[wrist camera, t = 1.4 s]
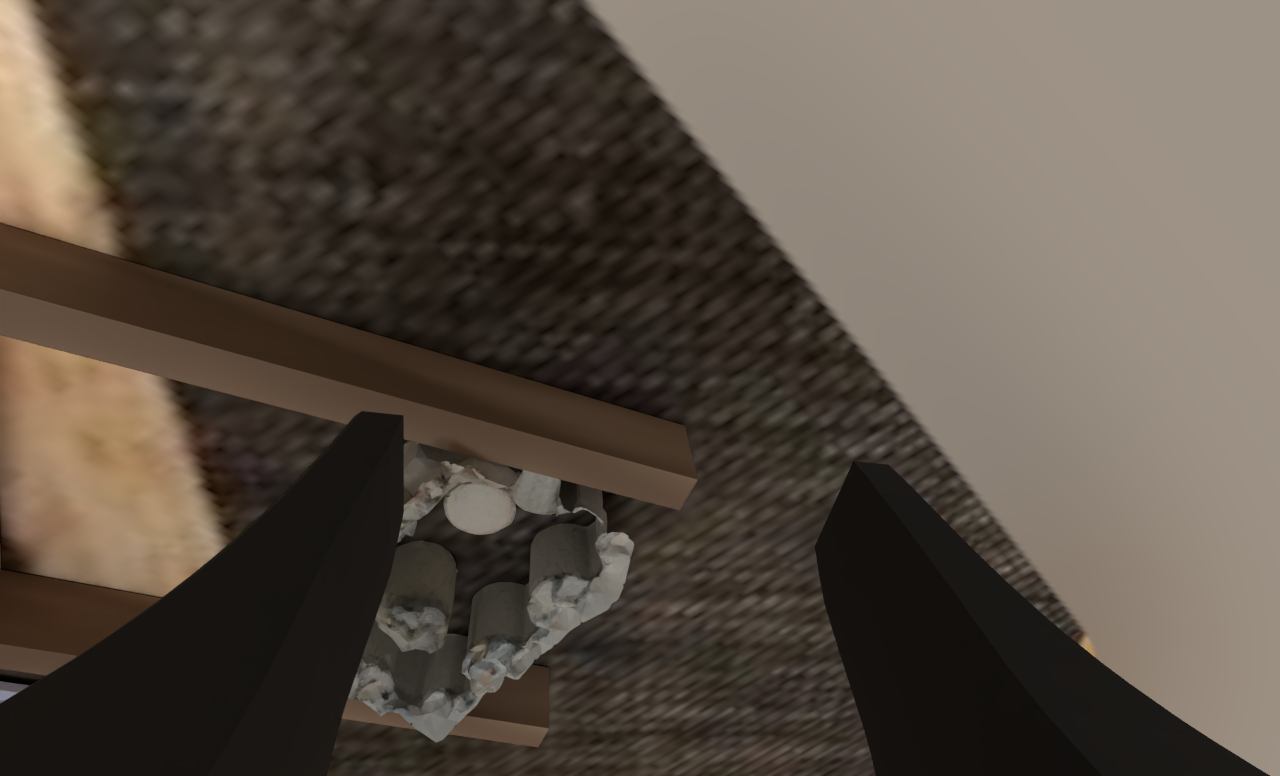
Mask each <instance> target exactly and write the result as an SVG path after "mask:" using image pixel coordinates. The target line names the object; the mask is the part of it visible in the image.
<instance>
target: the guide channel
mask: <svg viewBox="0 0 1280 776" xmlns="http://www.w3.org/2000/svg"><path fill="white" fill-rule="evenodd" d="M0 335H2V336H6V337H10V338H14V339H18V340H22V341H25V342H29V343H33V344H37V345H41V346H45V347H49V348H53V349H56V350H60V351H64V352H68V353H72V354H76V355H80V356H84V357H87V358H91V359H95V360H99V361H103V362H107V363H111V364H115V365H118V366H122V367H126V368H130V369H134V370H138V371H142V372H146V373H149V374H153V375H157V376H161V377H165V378H169V379H173V380H177V381H180V382H184V383H188V384H192V385H196V386H200V387H204V388H208V389H211V390H215V391H219V392H223V393H227V394H231V395H235V396H239V397H242V398H246V399H250V400H254V401H258V402H262V403H266V404H270V405H274V406H277V407H281V408H285V409H289V410H293V411H297V412H301V413H305V414H308V415H312V416H316V417H320V418H324V419H328V420H332V421H336V422H339V423H343V424H348V423H349V422H350V421H351V419H352V418H353V417H354V416H355V415H357V414H358V413H360V412H361V411H366V412H376V413H386V414H396V415H404V439H405V440H409V441H413V442H417V443H421V444H425V445H429V446H432V447H436V448H440V449H444V450H448V451H452V452H456V453H460V454H463V455H467V456H471V457H475V458H479V459H483V460H487V461H491V462H494V463H498V464H502V465H506V466H510V467H514V468H518V469H522V470H525V471H529V472H533V473H537V474H541V475H545V476H549V477H553V478H556V479H560V480H564V481H568V482H572V483H576V484H580V485H584V486H587V487H591V488H595V489H599V490H603V491H607V492H611V493H615V494H618V495H622V496H626V497H630V498H634V499H638V500H642V501H646V502H649V503H653V504H657V505H661V506H665V507H669V508H673V509H677V510H680V509H681V507H682V505H683V504H684V502H685V500H686V499H687V497H688V495H689V494H690V492H691V490H692V489H693V487H694V485H695V484H696V482H697V480H698V478H697V474H696V470H695V466H694V462H693V458H692V454H691V450H690V445H689V441H688V437H687V433H686V429H685V426H684V425H681V424H677V423H674V422H671V421H667V420H664V419H660V418H657V417H654V416H650V415H647V414H643V413H640V412H637V411H633V410H630V409H627V408H623V407H620V406H616V405H613V404H610V403H606V402H603V401H599V400H596V399H593V398H589V397H586V396H583V395H579V394H576V393H572V392H569V391H566V390H562V389H559V388H555V387H552V386H549V385H545V384H542V383H539V382H535V381H532V380H528V379H525V378H522V377H518V376H515V375H511V374H508V373H505V372H501V371H498V370H495V369H491V368H488V367H484V366H481V365H478V364H474V363H471V362H468V361H464V360H461V359H457V358H454V357H451V356H447V355H444V354H440V353H437V352H434V351H430V350H427V349H424V348H420V347H417V346H413V345H410V344H407V343H403V342H400V341H396V340H393V339H390V338H386V337H383V336H380V335H376V334H373V333H369V332H366V331H363V330H359V329H356V328H352V327H349V326H346V325H342V324H339V323H336V322H332V321H329V320H325V319H322V318H319V317H315V316H312V315H308V314H305V313H302V312H298V311H295V310H292V309H288V308H285V307H281V306H278V305H275V304H271V303H268V302H264V301H261V300H258V299H254V298H251V297H248V296H244V295H241V294H237V293H234V292H231V291H227V290H224V289H220V288H217V287H214V286H210V285H207V284H204V283H200V282H197V281H193V280H190V279H187V278H183V277H180V276H177V275H173V274H170V273H166V272H163V271H160V270H156V269H153V268H149V267H146V266H143V265H139V264H136V263H133V262H129V261H126V260H122V259H119V258H116V257H112V256H109V255H105V254H102V253H99V252H95V251H92V250H89V249H85V248H82V247H78V246H75V245H72V244H68V243H65V242H61V241H58V240H55V239H51V238H48V237H45V236H41V235H38V234H34V233H31V232H28V231H24V230H21V229H17V228H14V227H11V226H7V225H4V224H1V223H0ZM160 599H161V598H158V597H152V596H146V595H141V594H135V593H130V592H124V591H119V590H113V589H107V588H102V587H96V586H91V585H85V584H80V583H74V582H68V581H63V580H57V579H52V578H46V577H40V576H35V575H29V574H24V573H18V572H13V571H7V570H1V545H0V669H5V670H12V671H19V672H25V673H32V674H39V675H48V674H49V673H51V672H53V671H54V670H56V669H58V668H59V667H61V666H63V665H64V664H66V663H68V662H69V661H71V660H73V659H74V658H76V657H77V656H79V655H80V654H82V653H83V652H85V651H86V650H88V649H89V648H91V647H92V646H94V645H95V644H97V643H98V642H100V641H101V640H103V639H104V638H106V637H107V636H109V635H110V634H112V633H113V632H115V631H116V630H117V629H119V628H120V627H122V626H123V625H125V624H126V623H127V622H129V621H130V620H132V619H133V618H135V617H136V616H137V615H139V614H140V613H142V612H143V611H144V610H146V609H147V608H149V607H150V606H152V605H153V604H154V603H156V602H157V601H158V600H160ZM342 719H348V720H355V721H362V722H369V723H375V724H382V725H389V726H396V727H403V728H410V729H415V728H414V727H413V726H412V725H410V724H409V723H408V722H407V721H406V720H405V719H404V718H403V717H402V716H401V715H400V714H399V713H394V712H387V713H385V714H383V715H382V716H380V715H379V714H378V713H377V712H376V711H375V710H373V709H372V708H370V707H369V706H368V705H366V704H365V703H364V702H362V701H358V700H354V699H347V702H346V705H345V709H344V712H343V715H342ZM548 730H549V668H548V667H543V666H537V665H531V666H530V667H529V668H528V669H527V670H526V672H525V673H524V674H523V675H522V676H521V677H520V678H519V679H512V678H509V677H505V678H504V680H503V683H502V685H501V687H500V688H499V689H498V690H497V691H496V692H493V693H489V692H486V693H485V694H484V695H483V696H482V698H481V700H480V701H479V703H478V704H477V706H476V707H475V708H474V709H473V710H471V711H470V712H469V713H468V714H467V715H466V716H465V717H464V718H463V719H462V720H461V721H460V722H459V723H458V724H457V725H456V726H455V727H454V728H453V729H452V730H451V731H450V733H449V734H451V735H458V736H465V737H471V738H478V739H485V740H492V741H499V742H506V743H513V744H520V745H526V746H533V747H538V746H539V745H540V743H541V741H542V740H543V738H544V736H545V735H546V733H547V731H548Z"/></svg>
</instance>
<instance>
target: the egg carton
mask: <svg viewBox="0 0 1280 776" xmlns="http://www.w3.org/2000/svg"><path fill="white" fill-rule="evenodd" d="M445 494H446V495H445ZM444 496H445V498H444V503H443V505H444V510H445V514H446V517H447V518H448V519H449V521H450V522H451V523H452V525H454V526H455V527H457V528H458V529H459V530H462V531H465V532H467V533H472V534H476V535H483V534H491V533H495V532H497V531H499V530H501V529H503V528H504V527H506V526H508V525H510V524H511V522H512V521H513V519H514V517H515V514H516V504H517V505H518V506H519V507H520V508H522V509H523V510H524V511H529V512H532V513H536V514H543V515H550V514H555V513H556V517H557V516H558V515H559V514H564V513H568V512H573V513H576V512H577V511H579V510H582V509H583V510H588V511H589V512H591V513H592V514H593V515H595V516H596V521H595V522H593V523H592V524H591V525H589V526H586V527H583V526H580V525H577V524H569V523H566V524H557V525H553V526H551V527H548V528H546V529H544V530H542V531H540V532H539V533H537V535H536V536H535V538H534V540H533V542H532V544H531V551H530V577H529V583H527V584H526V585H522V584H518V583H513V582H498V583H493V584H489V585H487V586H485V587H483V588H482V589H481V590H480V591H478V592H477V593H476V594H475V595H474V597H473V599H472V606H471V617H470V624H469V632H468V637H467V636H463V635H458V634H447V631H448V626H449V622H450V618H451V615H452V609H453V601H454V594H455V584H456V577H457V571H458V570H457V569H456V562H455V560H454V558H453V556H452V555H451V553H450V552H449V551H448V550H446V549H445V548H444V547H442V546H441V545H439V544H436V543H432V542H427V541H414V542H410V543H407V544H404V545H401V546H399V547H397V548H396V552H395V556H394V561H393V565H392V570H391V573H390V576H389V579H388V582H387V585H386V588H385V591H384V594H383V597H382V600H381V603H380V606H379V609H378V612H377V615H376V618H375V621H374V624H373V627H372V630H371V633H370V635H369V638H368V641H367V644H366V647H365V650H364V653H363V656H362V659H361V662H360V665H359V667H358V670H357V673H356V676H355V679H354V682H353V685H352V688H351V691H350V694H349V697H348V699H354V700H358V701H362V702H364V703H365V704H366V705H368V706H369V707H370V708H372V709H373V710H375V711H376V712H377V713H378V714H379V715H380V716H382V715H383V714H385V713H387V712H394V713H399V714H400V715H401V716H402V717H403V718H404V719H405V720H406V721H407V722H408V723H409V724H410V725H412V726H413V727H414V728H415V729H417V730H418V731H420V732H421V733H423V734H424V735H426V736H427V737H429V738H430V739H432V740H433V741H435V742H438V741H441V740H443V739H444V738H445V737H446V736H447V735H448V734H449V733H450V731H451V730H452V729H453V728H454V727H455V726H456V725H457V724H458V723H459V722H460V721H461V720H462V719H463V718H464V717H465V716H466V715H467V714H468V713H469V712H470V711H471V710H473V709H474V708H475V707H476V706H477V704H478V703H479V701H480V700H481V698H482V696H483V695H484V694H485V693H486V692H489V693H493V692H496V691H497V690H498V689H499V688H500V687H501V685H502V683H503V680H504V678H505V677H509V678H512V679H519V678H520V677H521V676H522V675H523V674H524V673H525V672H526V670H527V669H528V668H529V667H530V666H531V665H532V663H533V662H534V661H535V660H536V659H538V658H539V657H540V656H541V655H542V654H544V653H545V652H547V651H548V650H550V649H551V648H553V647H554V646H556V645H557V644H558V643H559V642H560V641H561V640H562V638H563V637H564V636H565V635H566V634H567V633H568V632H569V631H570V630H572V629H574V628H575V627H577V626H578V625H580V624H582V623H584V622H586V621H588V620H589V619H591V618H593V617H595V616H597V615H599V614H601V613H603V612H605V611H607V610H608V609H609V608H610V607H611V606H612V605H613V604H614V603H615V602H616V601H617V600H618V599H619V596H620V594H621V592H622V590H623V587H624V584H625V580H626V576H627V572H628V568H629V564H630V559H631V555H632V551H633V547H634V543H633V541H632V540H631V539H630V537H629V536H628V535H626V534H624V533H616V532H611V533H608V534H607V514H606V512H605V511H604V509H603V497H602V490H599V489H595V488H591V487H587V486H584V485H580V484H576V483H572V482H568V481H564V480H560V479H556V478H553V477H549V476H545V475H541V474H537V473H533V472H529V471H525V470H522V469H518V468H514V467H510V466H506V465H502V464H498V463H494V462H491V461H487V460H483V459H479V458H475V457H471V456H467V455H463V454H460V453H456V452H452V451H448V450H444V449H440V448H436V447H432V446H429V445H425V444H421V443H417V442H413V441H409V440H407V442H406V443H405V444H404V514H403V518H402V523H401V528H400V533H399V538H398V542H400V541H401V539H402V538H403V537H404V536H405V535H408V536H414V533H415V531H416V526H417V520H419V519H421V518H422V517H423V516H425V515H426V514H428V513H429V512H430V511H431V510H432V509H433V508H434V507H435V505H436V504H437V503H438V502H439V501H440V500H441V499H442V498H443V497H444ZM398 542H397V543H398Z"/></svg>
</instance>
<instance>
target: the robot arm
mask: <svg viewBox="0 0 1280 776" xmlns="http://www.w3.org/2000/svg"><path fill="white" fill-rule="evenodd" d="M403 514H404V415H396V414H386V413H376V412H366V411H361V412H360V413H358V414H357V415H355V416H354V417H353V418H352V419H351V421H350V422H349V423H348V424H347V425H346V427H345V428H344V429H343V430H342V431H341V433H340V434H339V435H338V436H337V437H336V438H335V439H334V441H333V442H332V443H331V444H330V445H329V446H328V447H327V448H326V450H325V451H324V452H323V453H322V454H321V455H320V456H319V457H318V458H317V459H316V460H315V461H314V463H313V464H312V465H311V466H310V467H309V468H308V469H307V470H306V471H305V472H304V473H303V474H302V475H301V476H300V477H299V478H298V479H297V480H296V481H295V482H294V483H293V484H292V485H291V486H290V487H289V488H288V489H287V490H286V491H285V492H284V493H283V494H282V495H281V496H280V497H279V498H278V499H277V500H276V501H275V502H274V503H273V504H272V505H271V506H270V507H269V508H268V509H267V510H266V511H265V512H264V513H263V514H262V515H260V516H259V517H258V518H257V519H256V520H255V521H254V522H253V523H252V524H250V525H249V526H248V527H247V528H246V529H245V530H244V531H243V532H242V533H240V534H239V535H238V536H237V537H236V538H235V539H234V540H233V541H232V542H231V543H229V544H228V545H227V546H226V547H225V548H224V549H223V550H221V551H220V552H219V553H218V554H217V555H215V556H214V557H213V558H212V559H211V560H209V561H208V562H207V563H206V564H205V565H203V566H202V567H201V568H200V569H198V570H197V571H196V572H195V573H194V574H192V575H191V576H190V577H189V578H187V579H186V580H185V581H183V582H182V583H181V584H179V585H178V586H177V587H175V588H174V589H173V590H172V591H170V592H169V593H168V594H166V595H165V596H164V597H162V598H161V599H160V600H158V601H157V602H156V603H154V604H153V605H152V606H150V607H149V608H147V609H146V610H144V611H143V612H142V613H140V614H139V615H137V616H136V617H135V618H133V619H132V620H130V621H129V622H127V623H126V624H125V625H123V626H122V627H120V628H119V629H117V630H116V631H115V632H113V633H112V634H110V635H109V636H107V637H106V638H104V639H103V640H101V641H100V642H98V643H97V644H95V645H94V646H92V647H91V648H89V649H88V650H86V651H85V652H83V653H82V654H80V655H79V656H77V657H76V658H74V659H73V660H71V661H69V662H68V663H66V664H64V665H63V666H61V667H59V668H58V669H56V670H54V671H53V672H51V673H49V674H48V675H46V676H44V677H43V678H41V679H40V680H38V681H36V682H35V683H33V684H31V685H24V684H17V683H10V682H3V681H0V776H327V773H328V768H329V764H330V760H331V756H332V752H333V748H334V743H335V739H336V735H337V732H338V729H339V725H340V722H341V719H342V715H343V712H344V709H345V705H346V702H347V699H348V697H349V694H350V691H351V688H352V685H353V682H354V679H355V676H356V673H357V670H358V667H359V665H360V662H361V659H362V656H363V653H364V650H365V647H366V644H367V641H368V638H369V635H370V633H371V630H372V627H373V624H374V621H375V618H376V615H377V612H378V609H379V606H380V603H381V600H382V597H383V594H384V591H385V588H386V585H387V582H388V579H389V576H390V573H391V570H392V565H393V561H394V556H395V552H396V547H397V542H398V538H399V533H400V528H401V523H402V518H403ZM815 550H816V557H817V563H818V570H819V576H820V582H821V587H822V592H823V598H824V603H825V606H826V610H827V613H828V617H829V620H830V623H831V626H832V630H833V633H834V636H835V639H836V643H837V646H838V649H839V652H840V655H841V658H842V661H843V665H844V668H845V671H846V674H847V677H848V680H849V683H850V686H851V690H852V693H853V696H854V699H855V702H856V705H857V708H858V712H859V715H860V718H861V721H862V724H863V727H864V730H865V734H866V738H867V741H868V745H869V749H870V752H871V756H872V760H873V765H874V769H875V774H876V776H1270V775H1268V774H1266V773H1265V772H1263V771H1261V770H1260V769H1258V768H1256V767H1255V766H1253V765H1251V764H1250V763H1248V762H1247V761H1245V760H1243V759H1242V758H1240V757H1239V756H1237V755H1235V754H1234V753H1232V752H1231V751H1229V750H1227V749H1226V748H1224V747H1222V746H1221V745H1219V744H1218V743H1216V742H1214V741H1213V740H1211V739H1210V738H1208V737H1207V736H1205V735H1204V734H1202V733H1200V732H1199V731H1197V730H1196V729H1194V728H1193V727H1191V726H1190V725H1188V724H1187V723H1185V722H1184V721H1182V720H1181V719H1179V718H1178V717H1176V716H1175V715H1173V714H1172V713H1170V712H1169V711H1168V710H1166V709H1165V708H1163V707H1162V706H1161V705H1159V704H1158V703H1156V702H1155V701H1153V700H1152V699H1151V698H1149V697H1148V696H1146V695H1145V694H1144V693H1142V692H1141V691H1139V690H1138V689H1136V688H1135V687H1134V686H1132V685H1131V684H1129V683H1128V682H1126V681H1125V680H1124V679H1122V678H1121V677H1120V676H1119V675H1117V674H1116V673H1115V672H1113V671H1112V670H1111V669H1109V668H1108V667H1107V666H1105V665H1104V664H1103V663H1101V662H1100V661H1099V660H1098V659H1096V658H1095V657H1094V656H1093V655H1091V654H1090V653H1089V652H1088V651H1086V650H1085V649H1084V648H1083V647H1081V646H1080V645H1079V644H1078V643H1076V642H1075V641H1074V640H1073V639H1071V638H1070V637H1069V636H1068V635H1066V634H1065V633H1064V632H1063V631H1061V630H1060V629H1059V628H1058V627H1057V626H1056V625H1054V624H1053V623H1052V622H1051V621H1050V620H1048V619H1047V618H1046V617H1045V616H1044V615H1043V614H1042V613H1040V612H1039V611H1038V610H1037V609H1036V608H1035V607H1034V606H1033V605H1032V604H1030V603H1029V602H1028V601H1027V600H1026V599H1025V598H1024V597H1023V596H1022V595H1020V594H1019V593H1018V592H1017V591H1016V590H1015V589H1014V588H1013V587H1012V586H1011V585H1009V584H1008V583H1007V582H1006V581H1005V580H1004V579H1003V578H1002V577H1001V576H1000V575H999V574H998V573H997V572H996V571H995V570H994V569H993V568H992V567H990V566H989V565H988V564H987V563H986V562H985V561H984V560H983V559H982V558H981V557H980V556H979V555H978V554H977V553H976V552H975V551H974V550H973V549H972V548H971V547H970V546H969V545H968V544H967V543H966V542H965V541H964V540H963V539H962V538H961V537H960V536H959V535H958V534H957V533H956V532H955V531H954V530H953V529H952V528H951V527H950V526H949V525H948V524H947V523H946V522H945V521H944V520H943V519H942V518H941V516H940V515H939V514H938V513H937V512H936V511H935V510H934V509H933V508H932V507H931V506H930V505H929V504H928V503H927V502H926V501H925V500H924V499H923V498H922V497H921V496H920V495H919V494H918V493H917V492H916V491H915V490H914V489H913V488H912V487H911V486H910V485H909V484H908V483H907V482H906V481H905V480H904V479H903V478H902V477H901V476H900V475H899V474H898V473H897V472H896V471H894V470H893V469H892V468H891V467H890V466H889V465H886V464H876V463H866V462H856V461H853V463H852V466H851V468H850V470H849V472H848V474H847V477H846V479H845V481H844V483H843V486H842V488H841V490H840V492H839V494H838V497H837V499H836V501H835V503H834V505H833V508H832V510H831V512H830V514H829V516H828V519H827V521H826V523H825V525H824V527H823V530H822V532H821V534H820V536H819V539H818V541H817V543H816V545H815Z"/></svg>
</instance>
